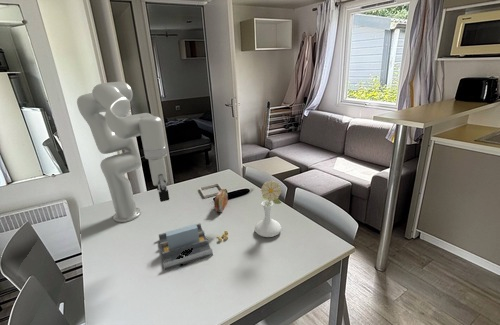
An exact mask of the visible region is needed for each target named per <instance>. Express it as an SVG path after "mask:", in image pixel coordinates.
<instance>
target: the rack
mask: <svg viewBox="0 0 500 325" xmlns="http://www.w3.org/2000/svg"><path fill="white" fill-rule="evenodd" d="M195 224H196V225H197V228H198V234H199V241H200V242H197V243H193V244H190V245H186V246H183V247H180V248H176V249H173V250H169V246H168V241H167V236H166V232H163V233H159V234H158V239H159V244H160V251H161V256H162V257H161V258H162V263H163V268H164V271H167V270H170V269H173V268H177V267H180V266H181V265H180V264H183V265H186V264H190V263H193V262H196V261H199V260H202V259H205V258H208V257H211V256H213V255H214V254H213V248H211V246H210V244H209V239H207V237H206V235H205V230H203V228H202V224H201V223H199V222H198V223H195ZM191 248H193V250H192V252H191V253H190V254H189V255H188V256H186V257H183V258H180V259H176V258H177V257H178V256H179V255H180V254H181V253H182V252H183V251H185V250H188V249H191Z"/></svg>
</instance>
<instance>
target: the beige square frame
mask: <svg viewBox="0 0 500 325" xmlns="http://www.w3.org/2000/svg"><path fill="white" fill-rule="evenodd" d="M216 187H218V188H219V190H221V189H224V188H223V187H222V186H221V184H220V183H219V182H217V183H213V184H207V185H203V186H199V187H198V188H199V189H198V190H199V192H200V193H201V195H202V197H203V199H206V198H210V197H216V196H217V194H218V192H219V191H216V192H212V193H207V194H205V193H204V191H203V190H207V189H211V188H216Z"/></svg>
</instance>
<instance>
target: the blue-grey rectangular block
mask: <svg viewBox="0 0 500 325" xmlns="http://www.w3.org/2000/svg"><path fill="white" fill-rule="evenodd" d="M196 224H197V223H194V224H191V225H187V226H183V227H179V228H177V229H176V228H175V229H173V230H169V231H166V232H165V233H166V236H167V241H168V246H169V250H173V249H176V248H180V247H183V246H186V245H190V244H193V243H197V242H200V241H199V234H198V228H197V225H196Z"/></svg>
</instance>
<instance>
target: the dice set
mask: <svg viewBox="0 0 500 325" xmlns="http://www.w3.org/2000/svg"><path fill="white" fill-rule="evenodd" d="M216 238H218V242H219V243H222V242H223V238H224V240H225V241H229V240H228V239H229V231H228V230H224V232H223V233H222V234H221V236H220V235H217V236H216Z"/></svg>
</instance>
